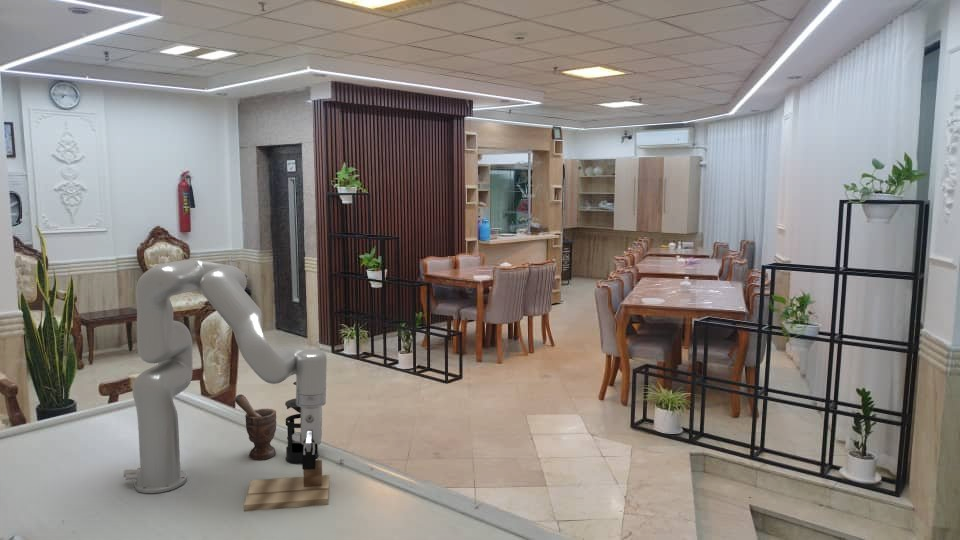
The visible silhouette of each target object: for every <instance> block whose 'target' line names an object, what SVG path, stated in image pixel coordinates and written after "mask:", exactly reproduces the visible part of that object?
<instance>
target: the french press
mask: <svg viewBox="0 0 960 540" xmlns="http://www.w3.org/2000/svg"><path fill="white" fill-rule="evenodd" d="M292 384H293V385H295V386H296V381H294V382H293V383H292ZM284 405H285V407H286V409H287V410H290V408H291V409H292V410H294V411H296V412H297V413H296V414H292V415H288V416H287V417H286V418H285V426H287V437H286V440H287V446H286V447H285V452H286V455H285V461H286V462H287V463H289V464H292V465H302V460H303V451H304V445H302V444H301V431H300V432H296V431H295V429H301V422H299V423H295V420H296V419H297V420H298V419H301V407H299V406H297V405H296V397H295V398H291V399H289V400H286V401H285V403H284ZM318 446H319V445H318V444H317V454H316V459H317V460H319V455H318V454H319V447H318Z"/></svg>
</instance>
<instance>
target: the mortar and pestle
mask: <svg viewBox="0 0 960 540" xmlns="http://www.w3.org/2000/svg"><path fill="white" fill-rule="evenodd" d="M234 401H235V403H236V405H238V407H240V408H241V409H242V410H243V411H244V412H245V415H244V417H245V429H246V432H247V436H248V439H249V441H250V442H251V443H253V445H254V446H253V448H251V450H250V451H249V455H248V456H249V458H250V459H252V460H255V461H262V460H267V459H271V458H273V457H274V456H276V453H277V451H276V448H275V447H274V446H273V445H271V442H272V441H273V439H274V437H275V434H276V431H277V410H275V409H273V408H258V409H254V408H253V406H252V405H251V403H250V401H249V400H248V398H247V397H246V396H245V395H244V394H238V395H236V396H235V397H234Z"/></svg>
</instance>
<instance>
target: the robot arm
mask: <svg viewBox="0 0 960 540" xmlns="http://www.w3.org/2000/svg"><path fill="white" fill-rule="evenodd" d="M247 284H248V279H247V276H246V274H245V273H244V271H243V270H241V269H240V268H238V267H237V266H235V265H230V264H225V263H224V264H223V263H217V262H212V261H206V260H199V259H193V258H192V259H191V258H190V259H189V258H187V259H182V260H176V261H170V262H165V263H162V264H159V265H155V266H154V267H151V268H149V269H148V270H146V271H145V272H143V274H142V275H141V276H140V277H139V278H138V281H137V283H136V287H135V302H136V340H137V341H136V344H137V353H138V356H139V357H140V359H141V360H142V361H143V362H145V363H147V364H156V365H154V366H152V367H149V368H148V369H145V370H144V371H142V372H141V373H140V374H138V376H136V378H135V380H134V381H133V383H132V384H133V385H132V396H133V397H132V398H133V400H134V401H133V402H134V404H135V410H136V415H137V417H136V418H137V430H138V447H139V448H138V449H139V467H137V468H136V469H124V471H123V478H125V480H126V481H129V480H135V481H134V490H136V491H137V492H140V493H142V494H158V493H164V492H170V491H172V490H175V489H177V488H179V487H181V486H183V485H184V484H185V483H186V482H187V481H188V476H187V473H186V472H184V471H182V470H181V457H180V456H181V454H180V434H179V433H180V430H179V428H180V427H179V417H178V415H179V414H178V410H177V407H176V405H175V402H174V397H176V396H177V395H179V394H181V393H182V392H183V391H185V390H186V389H187V388H188V387H189V386H190V384H191V382H192V378H193V368H194V367H193V338H192V335H191V332H190V329H189V328H188V327H187V326H186V324H184V323H183V322H181V321H179V320H178V321H177V320H174V308H173V303H172V301H171V300H170V299H171V297H173V296H174V297H175V296H178V295H182V294H185V293H188V292H191V291H192V292H193V291H196V292H201V294H202V295H203V296H204V298H205V299H206V300H207V301H208V302H209V304H210V305H211V307H213V309H214V310H215V311H216V312H217V313H218V314H219V316H220V317H221V318H222V319H223V321H224V322H225V323H226V324H227V325H228V326H229V328H230V329H231V330H232V331H233V333H234V339H235V341H236V344H237V347H238V349H239V352H240V354H241V356H242V357H243V359H244V361H245V362H246V364H248V366H249V367H250V368H251V369H252V370H253V372H254V373H255V374H256V375H257V376H258V377H259V378H260V379H261V380H262V381H264V382H265V383H268V384H272V385H275V384H277V385H278V384H280V383H283V382H284V381H285V380H286V379H287V378H289V377H291V376H293V375H295V377H296V378H295V382H296V385H295V386H296V387H295V398H296V405H297V406H299V407H301V413H300V414H301V418H300V423H301V428H300V432H301V444H302V445H304V451H303V460H302V464H301V466H302V470H310V469H315V464H316V454H317V445H318V446H319V445H320V444H321V443H322V435H323V407H324V406H325V405H327V404H326V401H327V364H328V363H327V355H326V352H324V351H323V350H319V349H302V348H298V347H293V346H287V345H286V346H285V345H284V346H281V347H279V348H277V349H276V350H275V349H274V348H273V347H272V345H270V344H271V343H269V341H268V340H267V339H266V337H265V335H264V332H263V329H262V318H263V315H262V310H261V308H260V307H259V306H258V305H257V304H256V302H255V301H254V300H253V299H252V297H251V296H250V295H249V294H248V293H247V292H246V291H245V290H246V288H247Z"/></svg>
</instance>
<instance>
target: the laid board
mask: <svg viewBox="0 0 960 540" xmlns="http://www.w3.org/2000/svg"><path fill="white" fill-rule="evenodd" d="M329 495H330V487H329V488H326V489H312V490H299V491H285V492H271V493H258V494H248V493H247V494H246V498H245V501H244V504H243V512H249V511H250V512H251V511H252V512H253V511H263V510H276V509H286V508H287V509H288V508H289V509H291V508H302V507H316V506H327V505H329Z"/></svg>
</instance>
